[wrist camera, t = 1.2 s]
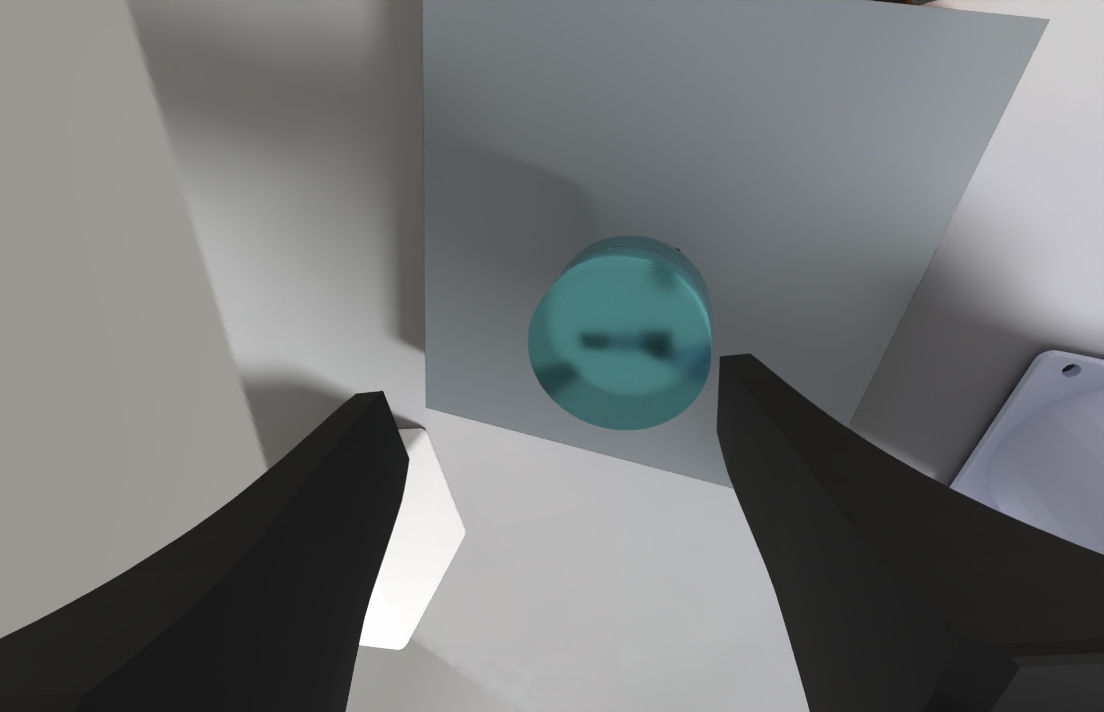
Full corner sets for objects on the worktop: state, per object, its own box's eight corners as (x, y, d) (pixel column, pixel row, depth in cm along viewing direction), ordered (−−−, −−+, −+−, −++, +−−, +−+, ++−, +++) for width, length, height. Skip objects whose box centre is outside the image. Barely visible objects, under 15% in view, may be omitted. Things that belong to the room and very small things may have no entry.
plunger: (728, 216, 17) (735, 288, 11) (693, 340, 19) (685, 448, 13) (591, 192, 17) (536, 248, 12) (573, 313, 20) (520, 406, 14)
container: (313, 430, 31) (93, 630, 20) (427, 425, 28) (247, 651, 17) (362, 529, 34) (195, 748, 23) (469, 532, 32) (338, 781, 21)
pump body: (985, 28, 15) (1049, 19, 12) (795, 451, 23) (807, 507, 20) (469, -28, 18) (421, -47, 15) (458, 369, 26) (425, 407, 23)
